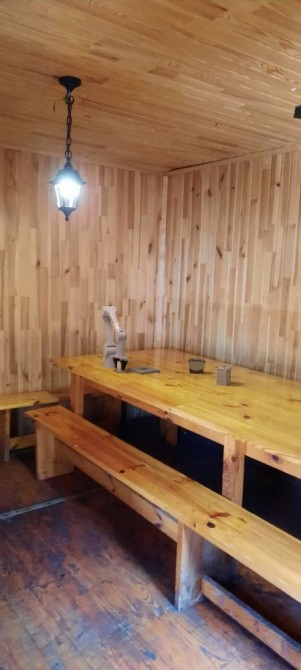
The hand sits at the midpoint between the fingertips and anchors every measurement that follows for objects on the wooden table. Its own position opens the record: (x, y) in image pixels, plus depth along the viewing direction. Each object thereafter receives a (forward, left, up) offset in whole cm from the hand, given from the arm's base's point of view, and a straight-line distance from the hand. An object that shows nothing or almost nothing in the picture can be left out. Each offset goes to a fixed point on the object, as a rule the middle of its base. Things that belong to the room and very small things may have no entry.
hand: (120, 369), depth 330 cm
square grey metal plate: (0, 0, -2) cm, 2 cm away
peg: (0, 0, -1) cm, 1 cm away
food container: (+25, +47, -3) cm, 53 cm away
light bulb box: (+58, +40, -3) cm, 71 cm away
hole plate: (+7, +15, -2) cm, 17 cm away
